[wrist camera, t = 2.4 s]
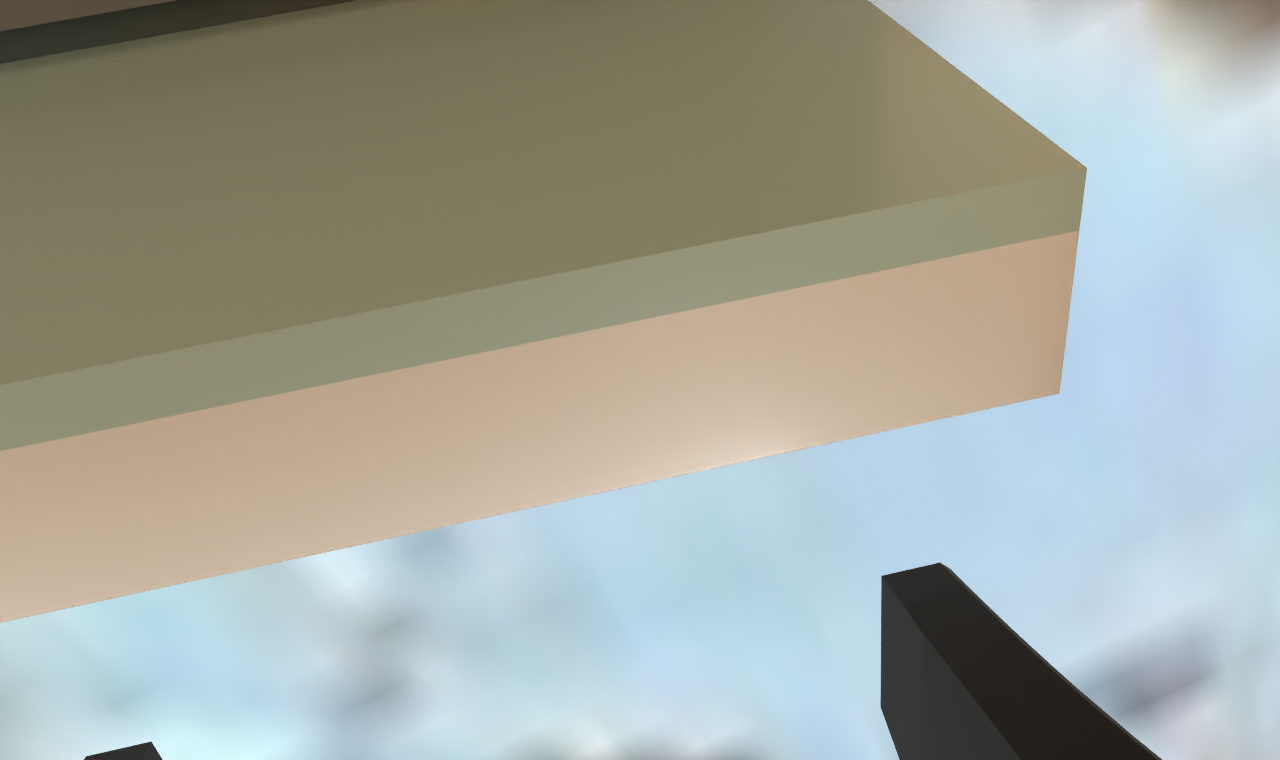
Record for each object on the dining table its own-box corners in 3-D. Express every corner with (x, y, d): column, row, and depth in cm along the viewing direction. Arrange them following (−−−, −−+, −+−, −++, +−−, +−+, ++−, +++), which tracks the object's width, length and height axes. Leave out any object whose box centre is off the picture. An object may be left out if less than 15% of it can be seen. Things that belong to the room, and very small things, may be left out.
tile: (-30, 225, 12) (-386, 705, 6) (-108, 82, 11) (-597, 504, 5) (777, 72, 12) (1059, 393, 7) (770, -74, 11) (1087, 166, 6)
